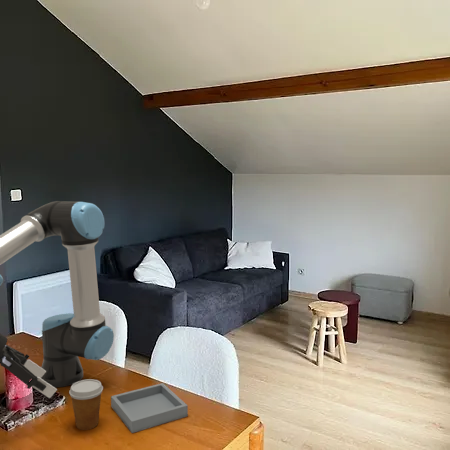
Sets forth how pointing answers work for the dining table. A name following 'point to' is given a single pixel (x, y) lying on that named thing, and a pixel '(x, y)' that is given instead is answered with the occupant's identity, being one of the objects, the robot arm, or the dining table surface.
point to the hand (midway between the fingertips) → (47, 383)
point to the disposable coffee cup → (86, 403)
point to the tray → (148, 407)
